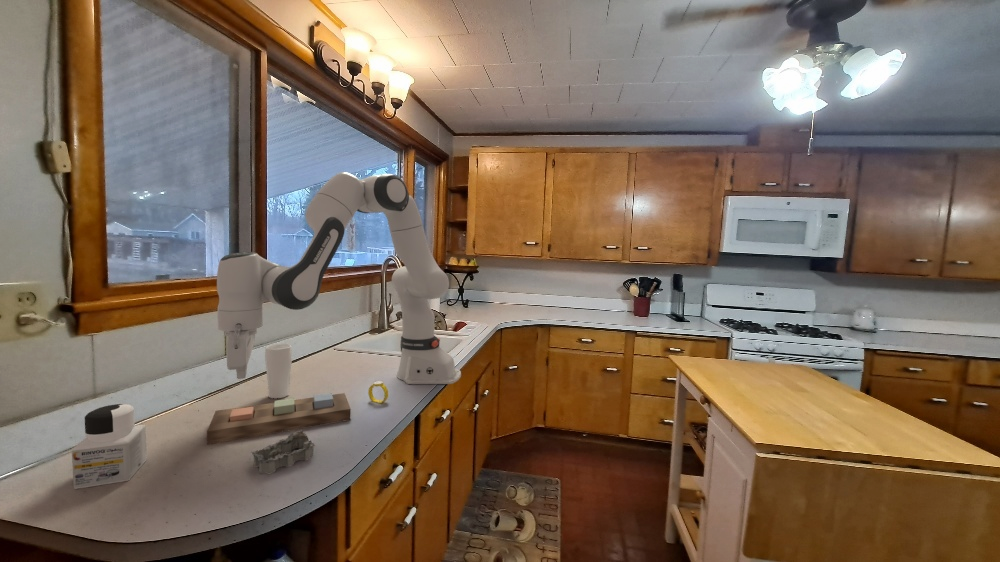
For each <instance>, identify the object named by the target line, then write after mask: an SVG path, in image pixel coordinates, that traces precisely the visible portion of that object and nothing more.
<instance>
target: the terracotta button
mask: <svg viewBox="0 0 1000 562" xmlns="http://www.w3.org/2000/svg"><path fill="white" fill-rule="evenodd" d="M246 407H247V406H246ZM252 418H254V407H247V408H240V409H233V410H232V412H231V415H230V422H232V421H239V420H245V419H252Z"/></svg>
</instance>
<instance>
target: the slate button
mask: <svg viewBox="0 0 1000 562" xmlns="http://www.w3.org/2000/svg"><path fill="white" fill-rule="evenodd" d="M332 395H333V394H332V393H331V392H329V393H322V394H314V395H313V397H314V409H318V408H325V407H332V406H333V396H332Z"/></svg>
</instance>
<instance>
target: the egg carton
mask: <svg viewBox="0 0 1000 562" xmlns="http://www.w3.org/2000/svg"><path fill="white" fill-rule="evenodd" d="M314 447H316V444H315V442H313V441H312V440H311V439H310V440H309V437H308V435H307V434H306V433H305V432H304V429H302V430H300V431H299V430H296V431H295V432H292V433H291V434H288V435H287V438H284V439H283V438H281V439H280V440H279V441H277V442H275V443H273V444H272V443H271V444H268V445H266V446H264V447H263V448H261V449H257V450H254V451H251V455H252V456H253V466H254V467H255V468H256V467H257V468H258V471H259V472H258V473H259V474H273V473H275V472H276V471H277V469H278V468H281V467H287V468H290V467H291V466H294V463H295V462H297V461H302V460H303V461H308V460H311V456H313V454H314ZM297 448H298V450H295V449H297ZM291 452H292V453H291Z"/></svg>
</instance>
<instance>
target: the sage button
mask: <svg viewBox="0 0 1000 562" xmlns="http://www.w3.org/2000/svg"><path fill="white" fill-rule="evenodd" d="M294 400H295V398H286V399H284V398H283V399H279V400H274V403H275V404H274V415H279V414H285V413H292V412H295V410H294Z"/></svg>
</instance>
